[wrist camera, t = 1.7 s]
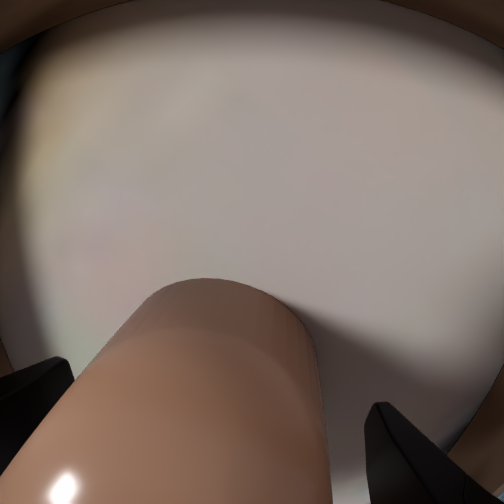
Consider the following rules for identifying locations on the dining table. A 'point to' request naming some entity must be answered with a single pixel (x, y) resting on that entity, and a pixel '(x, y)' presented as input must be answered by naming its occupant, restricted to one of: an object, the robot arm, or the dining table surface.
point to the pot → (187, 410)
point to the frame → (433, 3)
